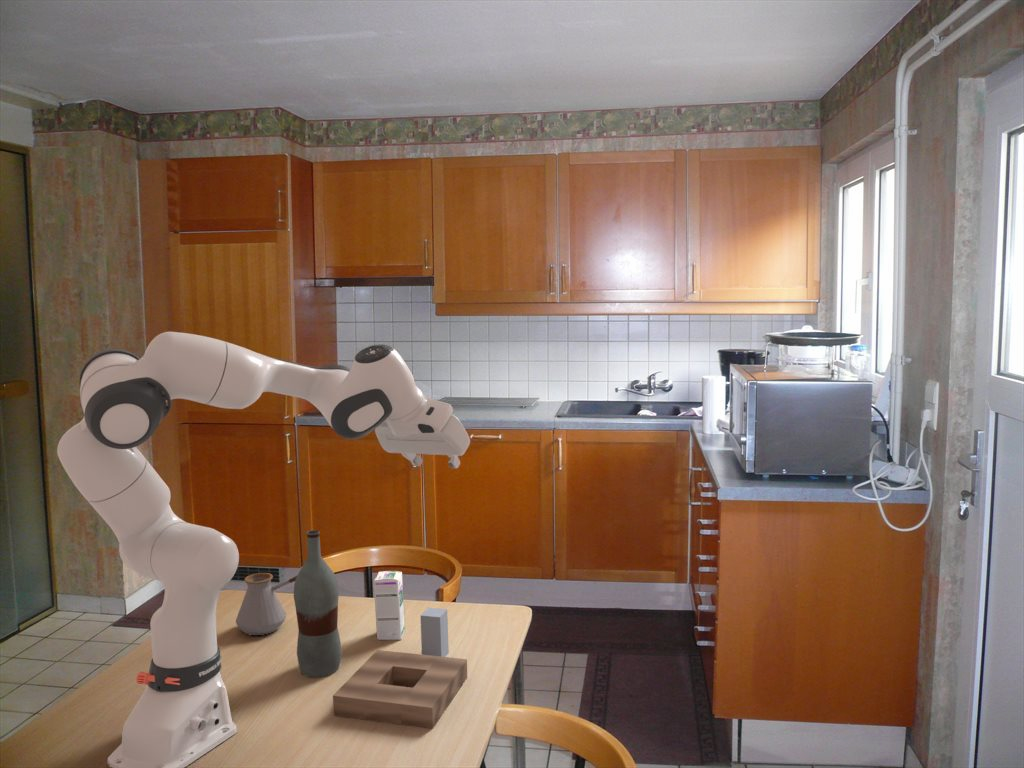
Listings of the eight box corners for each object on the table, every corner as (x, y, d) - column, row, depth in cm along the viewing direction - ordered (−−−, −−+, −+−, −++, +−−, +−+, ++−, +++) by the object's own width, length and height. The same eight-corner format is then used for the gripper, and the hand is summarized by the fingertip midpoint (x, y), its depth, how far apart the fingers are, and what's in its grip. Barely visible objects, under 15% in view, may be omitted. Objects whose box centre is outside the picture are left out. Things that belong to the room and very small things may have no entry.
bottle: (288, 673, 173) (280, 535, 170) (316, 655, 182) (309, 523, 178) (324, 682, 169) (317, 540, 166) (351, 663, 178) (344, 528, 174)
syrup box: (401, 640, 189) (399, 579, 187) (376, 640, 189) (373, 579, 187) (405, 629, 194) (403, 570, 193) (380, 630, 194) (377, 570, 193)
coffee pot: (231, 641, 190) (226, 578, 188) (242, 621, 202) (239, 561, 200) (324, 635, 192) (321, 573, 190) (331, 616, 203) (328, 557, 201)
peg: (441, 661, 177) (440, 617, 176) (422, 659, 179) (420, 615, 177) (448, 652, 182) (447, 609, 181) (429, 650, 183) (427, 607, 182)
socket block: (433, 728, 151) (432, 707, 150) (333, 715, 156) (332, 695, 156) (467, 677, 170) (466, 659, 169) (378, 667, 175) (377, 649, 175)
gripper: (359, 425, 163) (390, 474, 171) (443, 427, 153) (471, 478, 160) (375, 404, 168) (404, 452, 175) (457, 404, 157) (484, 455, 164)
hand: (437, 465), depth 168 cm, fingers open, 8 cm apart
